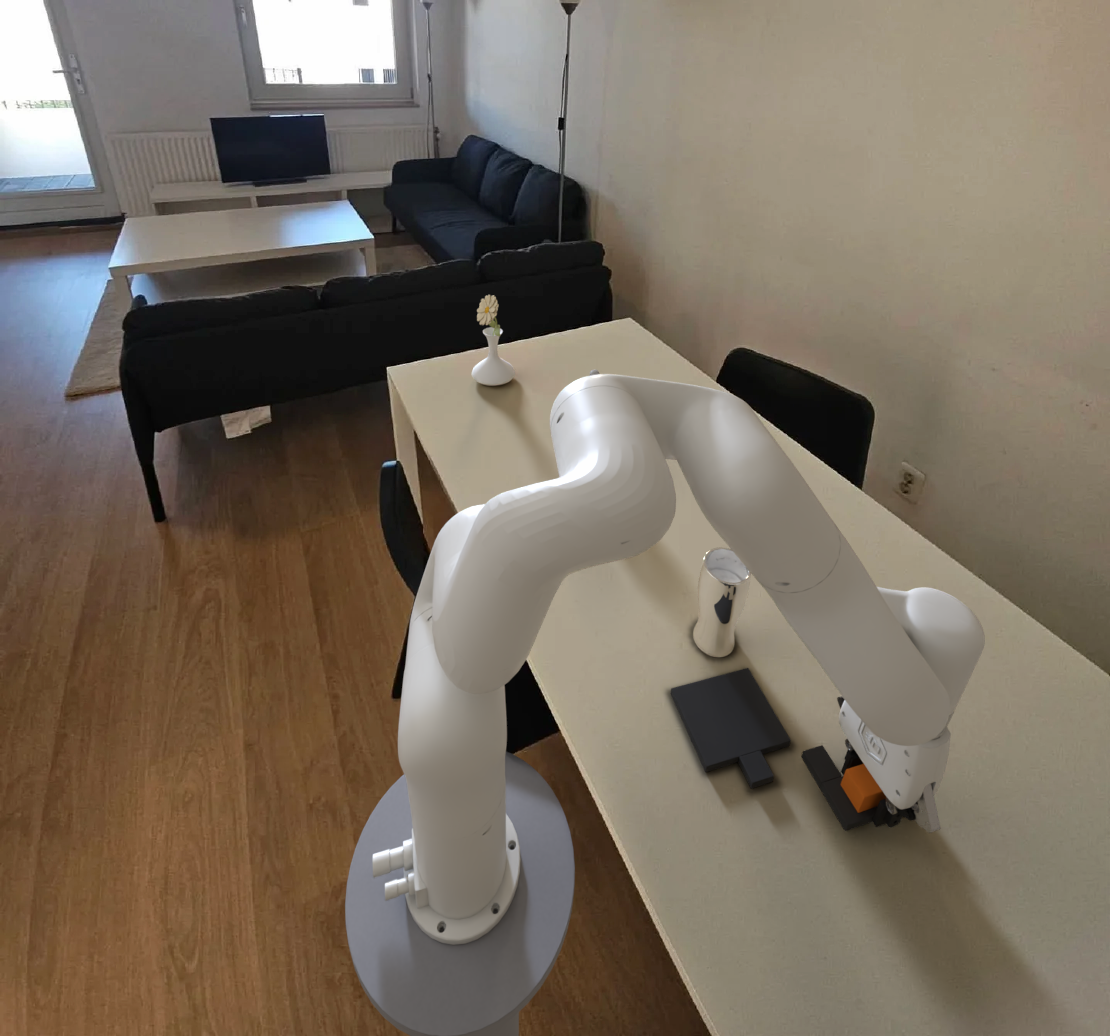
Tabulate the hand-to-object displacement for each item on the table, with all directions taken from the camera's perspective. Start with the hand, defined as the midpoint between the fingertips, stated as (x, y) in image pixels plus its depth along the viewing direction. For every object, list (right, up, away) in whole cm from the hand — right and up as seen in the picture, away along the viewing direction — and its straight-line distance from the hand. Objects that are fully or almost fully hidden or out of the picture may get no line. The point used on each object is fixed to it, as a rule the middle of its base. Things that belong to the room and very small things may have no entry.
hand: (868, 794), depth 71 cm
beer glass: (-13, +7, +20) cm, 25 cm away
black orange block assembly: (0, 0, +2) cm, 2 cm away
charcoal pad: (-14, +2, +8) cm, 16 cm away
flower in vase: (-53, +37, +86) cm, 108 cm away
